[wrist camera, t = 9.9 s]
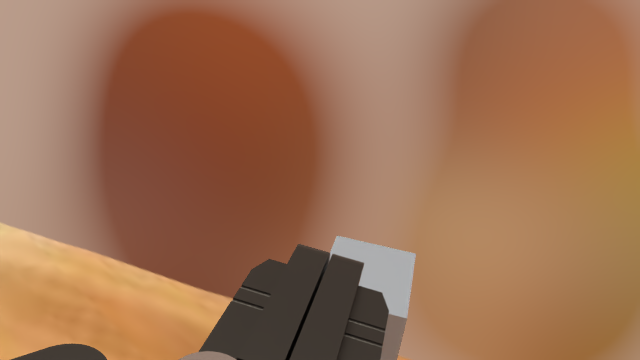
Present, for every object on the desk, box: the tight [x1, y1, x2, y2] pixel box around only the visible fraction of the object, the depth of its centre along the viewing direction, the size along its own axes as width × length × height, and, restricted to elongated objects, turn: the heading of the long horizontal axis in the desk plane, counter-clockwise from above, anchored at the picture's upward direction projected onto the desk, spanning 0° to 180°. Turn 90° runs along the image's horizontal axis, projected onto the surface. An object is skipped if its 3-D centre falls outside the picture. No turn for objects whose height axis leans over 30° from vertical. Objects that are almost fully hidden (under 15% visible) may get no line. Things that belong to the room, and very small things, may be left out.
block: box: [329, 236, 416, 360], centre depth 32 cm, size 5×6×13 cm
